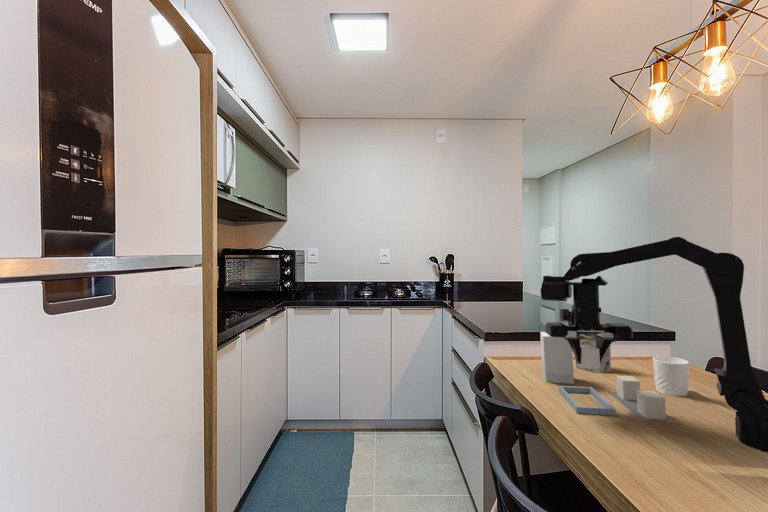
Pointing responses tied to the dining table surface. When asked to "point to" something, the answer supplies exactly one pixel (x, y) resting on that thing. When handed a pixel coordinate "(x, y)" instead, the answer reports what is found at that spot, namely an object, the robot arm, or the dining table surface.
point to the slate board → (633, 408)
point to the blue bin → (604, 410)
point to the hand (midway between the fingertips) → (588, 363)
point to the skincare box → (556, 359)
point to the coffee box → (606, 360)
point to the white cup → (671, 375)
